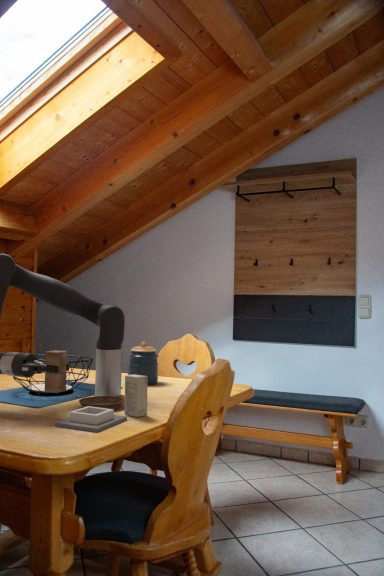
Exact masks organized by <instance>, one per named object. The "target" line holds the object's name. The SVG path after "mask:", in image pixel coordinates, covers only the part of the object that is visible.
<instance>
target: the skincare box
mask: <svg viewBox="0 0 384 576" xmlns="http://www.w3.org/2000/svg"><path fill="white" fill-rule="evenodd" d="M124 415H126V416H131V417H135V418H140V417H145V416H148V385H147V376H142V375H135V374H134V375H128V374H127V375H124Z"/></svg>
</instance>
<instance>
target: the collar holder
mask: <svg viewBox="0 0 384 576" xmlns="http://www.w3.org/2000/svg"><path fill="white" fill-rule="evenodd" d="M114 413H115V409H106V408H98V407H91V406H87V407H82V408H78V409H75V410H72V411H70V412H69V417H67V418H66V417H65V418H64V419H60V420H58V421H54V424H53V425H54V427H57V428H58V427H59V428H65V429H71V430H77V431H79V430H80V431H85V432H91V433H92V432H93V433H99V432H101V430H102V431H104V430H106V429H108V428H111V427H113V426H117V425H118V424H121V423H124V422H126V421H128V416H127V415H126V416H125V415H119V414H117V415H116V414H114Z"/></svg>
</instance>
